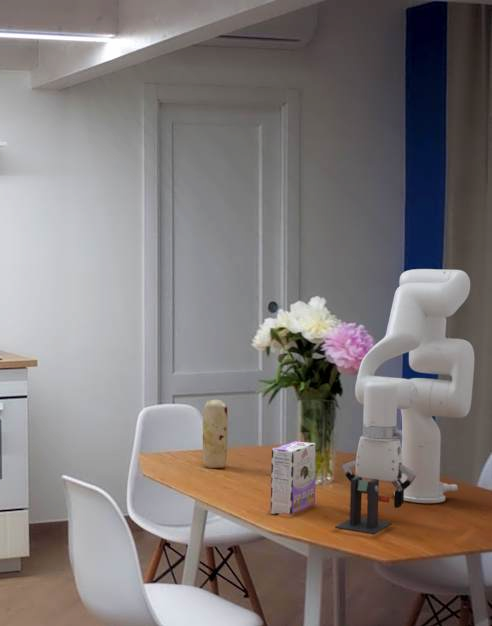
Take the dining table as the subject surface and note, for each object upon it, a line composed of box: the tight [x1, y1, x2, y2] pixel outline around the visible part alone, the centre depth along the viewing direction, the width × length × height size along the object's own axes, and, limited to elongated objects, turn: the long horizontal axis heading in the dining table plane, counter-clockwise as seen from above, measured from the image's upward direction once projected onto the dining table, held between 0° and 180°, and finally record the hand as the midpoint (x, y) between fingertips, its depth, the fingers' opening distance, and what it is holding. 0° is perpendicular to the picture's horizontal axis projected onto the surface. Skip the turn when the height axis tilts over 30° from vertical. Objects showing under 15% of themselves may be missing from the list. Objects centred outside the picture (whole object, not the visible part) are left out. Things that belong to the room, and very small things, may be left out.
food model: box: [202, 399, 229, 469], centre depth 318 cm, size 10×7×20 cm
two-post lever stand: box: [334, 477, 393, 535], centre depth 247 cm, size 12×9×12 cm
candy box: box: [269, 440, 317, 516], centre depth 264 cm, size 14×6×16 cm, turn 141°
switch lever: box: [357, 479, 390, 504], centre depth 250 cm, size 12×5×2 cm, turn 143°
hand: (377, 503), depth 254 cm, fingers open, 9 cm apart
